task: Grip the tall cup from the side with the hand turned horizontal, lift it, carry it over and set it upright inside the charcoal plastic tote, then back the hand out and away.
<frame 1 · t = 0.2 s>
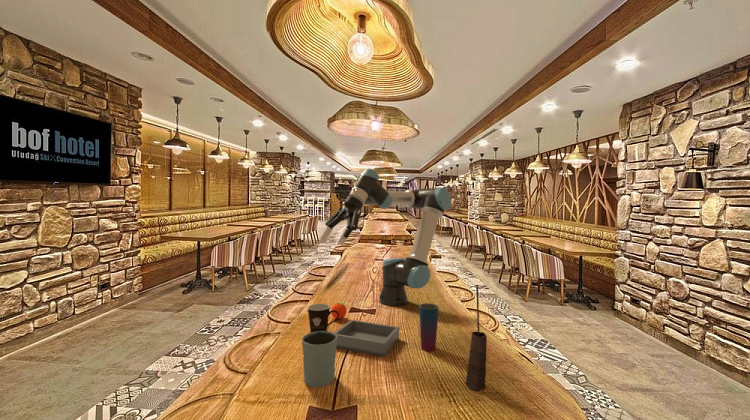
hand: (330, 242, 125), 36 cm above the table, tool tilted 35°, fingers open, 13 cm apart
coffee mug: (321, 333, 123), on the table
cup: (428, 348, 111), on the table
clementine: (339, 319, 140), on the table
butter churn: (478, 388, 86), on the table
tote: (366, 342, 115), on the table
grey ceramic tumbler: (319, 379, 90), on the table
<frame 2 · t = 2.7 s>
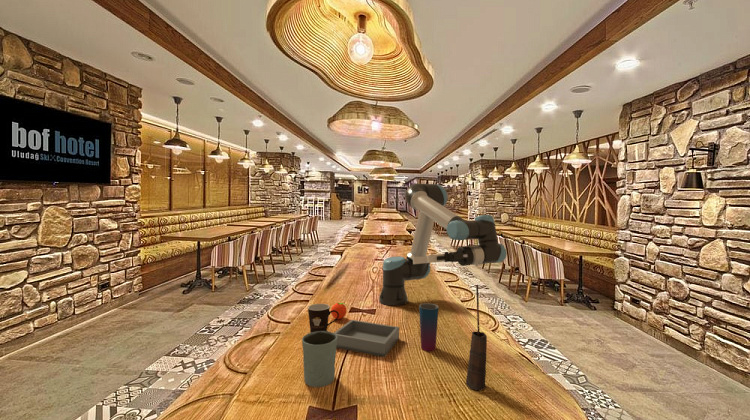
hand: (420, 260, 118), 30 cm above the table, tool horizontal, fingers open, 13 cm apart
nothing on the table moved.
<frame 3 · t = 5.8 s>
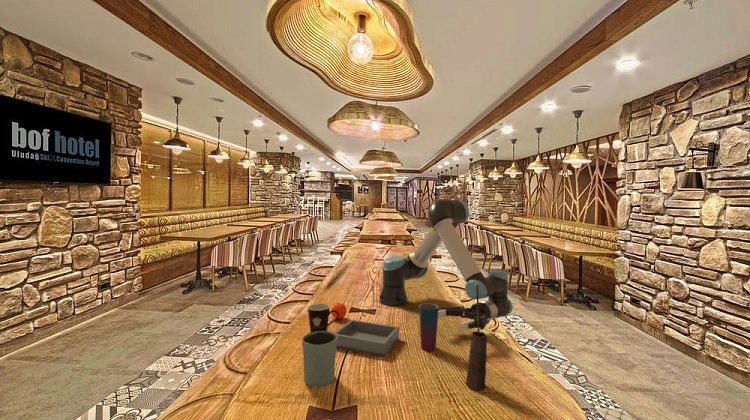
hand: (446, 321, 115), 8 cm above the table, tool horizontal, fingers open, 13 cm apart
nothing on the table moved.
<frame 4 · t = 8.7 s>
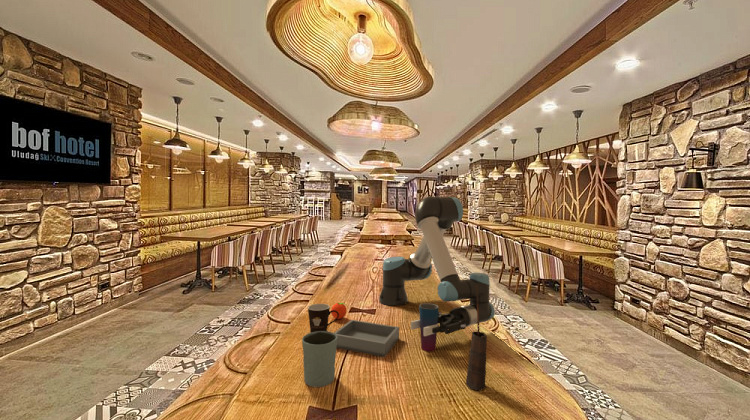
hand: (417, 328, 108), 8 cm above the table, tool horizontal, fingers closed on cup, 6 cm apart
cup: (428, 348, 111), on the table, touching gripper
everything else where it was.
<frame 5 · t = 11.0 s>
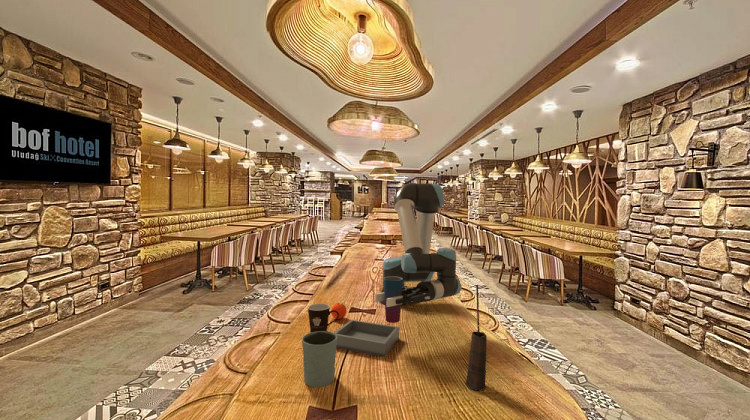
hand: (381, 300, 108), 18 cm above the table, tool horizontal, fingers closed on cup, 6 cm apart
cup: (392, 320, 111), point 9 cm above the table, touching gripper
everything else where it was.
when the fingers open (10 cm above the table, at t = 13.7 s): cup drops 1 cm, resting on tote.
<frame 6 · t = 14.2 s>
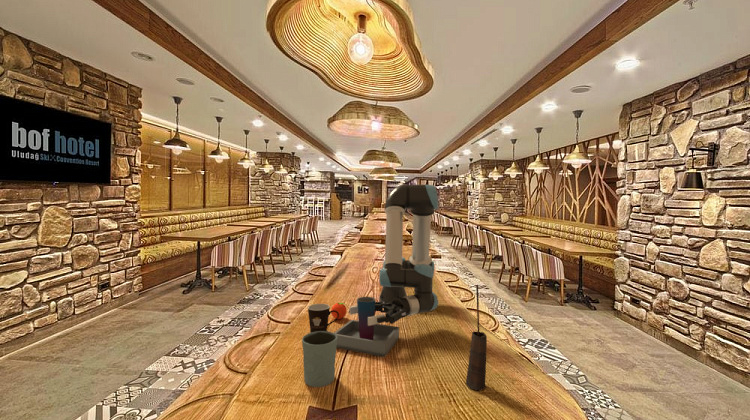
hand: (358, 315, 113), 10 cm above the table, tool horizontal, fingers open, 12 cm apart
cup: (366, 340, 115), point 1 cm above the table, touching tote
everything else where it was.
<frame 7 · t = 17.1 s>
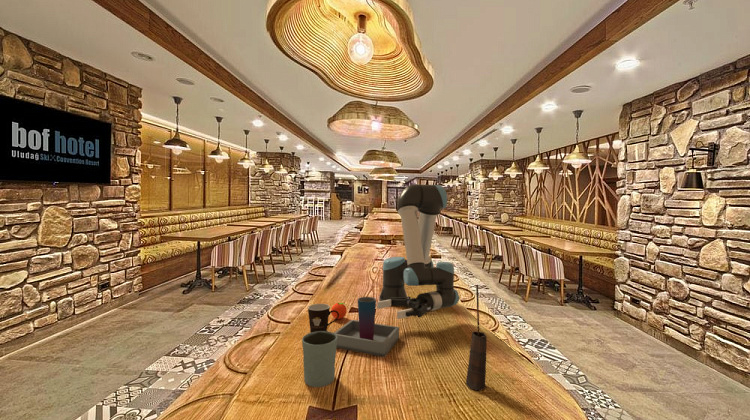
hand: (387, 310, 120), 10 cm above the table, tool horizontal, fingers open, 13 cm apart
nothing on the table moved.
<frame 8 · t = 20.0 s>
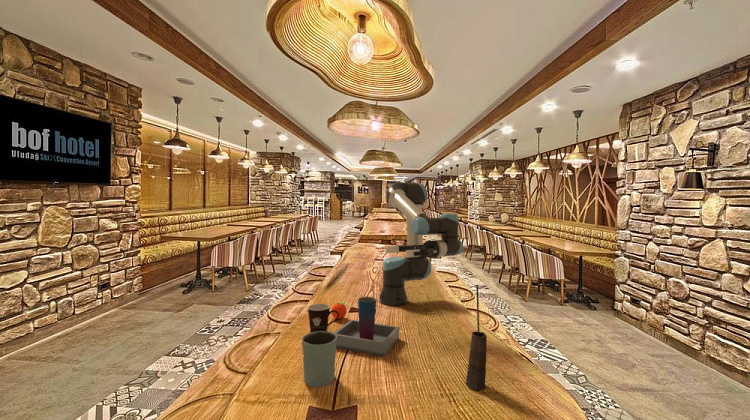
hand: (395, 252, 126), 32 cm above the table, tool horizontal, fingers open, 13 cm apart
nothing on the table moved.
at the end: cup inside the target area on the tote (0.0 cm from its centre), point 0.8 cm above the tote's base; cup tilted 0°; the gripper is holding nothing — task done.
